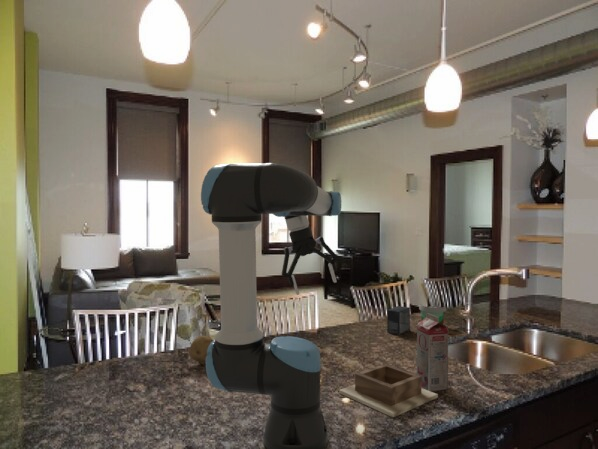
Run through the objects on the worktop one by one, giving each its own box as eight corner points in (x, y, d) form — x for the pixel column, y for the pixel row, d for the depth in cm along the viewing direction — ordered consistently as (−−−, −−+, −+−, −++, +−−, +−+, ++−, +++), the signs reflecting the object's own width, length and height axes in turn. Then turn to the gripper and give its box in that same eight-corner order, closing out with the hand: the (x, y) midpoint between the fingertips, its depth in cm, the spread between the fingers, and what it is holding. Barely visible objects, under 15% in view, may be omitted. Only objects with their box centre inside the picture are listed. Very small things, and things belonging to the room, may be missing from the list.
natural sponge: (196, 370, 150) (196, 341, 150) (184, 363, 157) (184, 335, 157) (220, 364, 156) (220, 336, 155) (208, 358, 163) (207, 331, 162)
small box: (397, 328, 206) (397, 305, 205) (410, 330, 201) (410, 307, 201) (386, 332, 197) (386, 309, 197) (399, 335, 193) (399, 311, 193)
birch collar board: (393, 417, 116) (393, 394, 116) (339, 393, 132) (339, 373, 131) (437, 397, 129) (437, 376, 129) (383, 377, 144) (383, 358, 144)
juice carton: (428, 391, 133) (429, 318, 132) (416, 383, 140) (417, 313, 139) (447, 389, 135) (448, 316, 134) (435, 381, 141) (436, 312, 141)
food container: (418, 328, 204) (418, 307, 204) (418, 325, 210) (419, 304, 210) (446, 330, 201) (446, 308, 200) (446, 327, 207) (446, 305, 206)
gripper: (331, 218, 158) (347, 275, 159) (263, 238, 154) (280, 297, 155) (336, 218, 150) (353, 278, 151) (265, 239, 147) (283, 301, 148)
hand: (316, 288), depth 153 cm, fingers open, 13 cm apart
